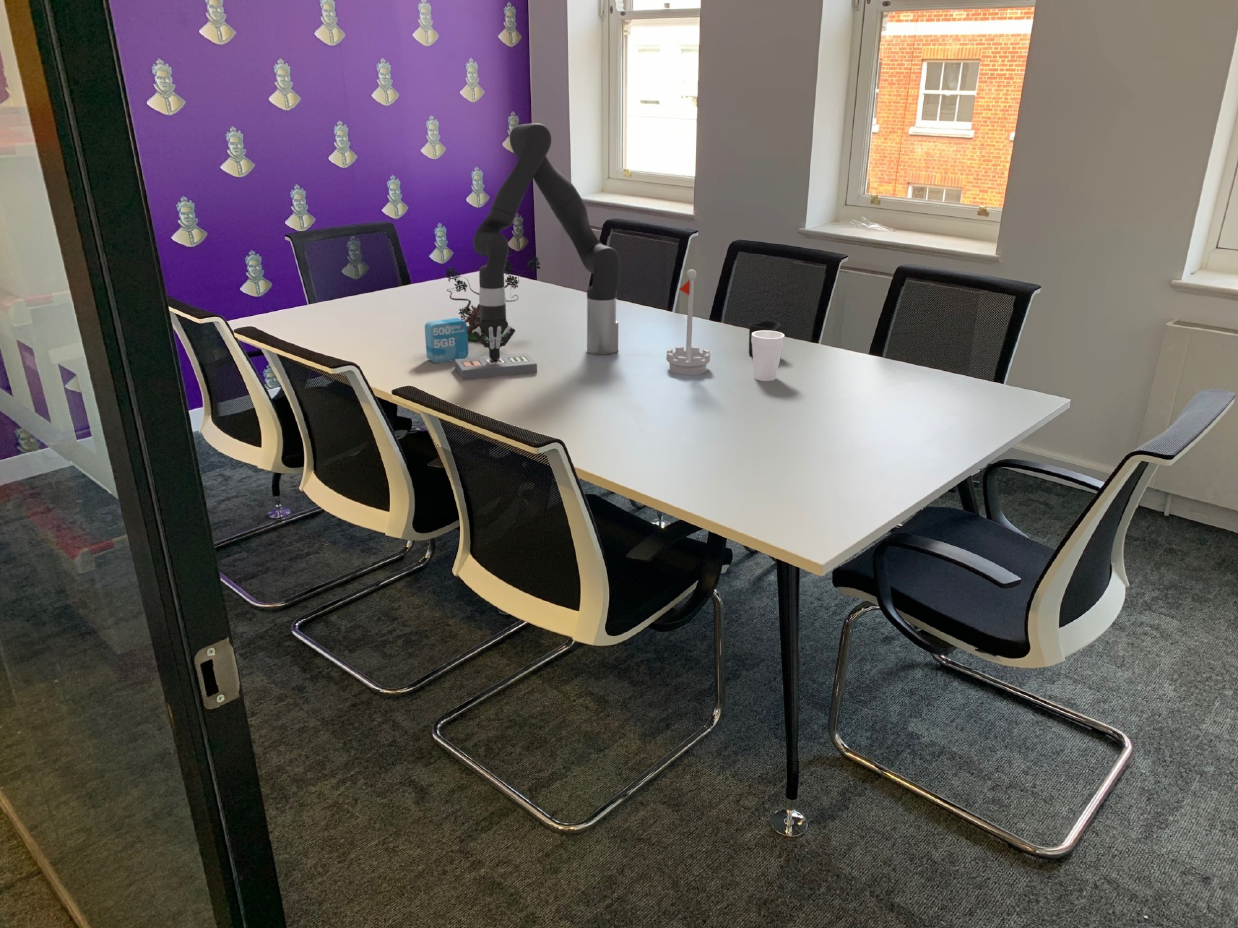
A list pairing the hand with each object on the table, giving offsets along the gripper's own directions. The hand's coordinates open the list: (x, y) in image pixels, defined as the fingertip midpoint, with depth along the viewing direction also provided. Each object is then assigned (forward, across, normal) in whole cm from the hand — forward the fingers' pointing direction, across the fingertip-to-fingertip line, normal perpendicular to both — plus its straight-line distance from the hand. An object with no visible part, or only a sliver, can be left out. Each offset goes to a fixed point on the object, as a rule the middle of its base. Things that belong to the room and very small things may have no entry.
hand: (494, 360), depth 279 cm
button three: (+3, 0, 0) cm, 3 cm away
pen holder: (+3, -84, +9) cm, 85 cm away
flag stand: (+3, -55, +16) cm, 58 cm away
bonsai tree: (+4, -10, -40) cm, 41 cm away
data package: (+4, +11, -17) cm, 20 cm away
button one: (+3, +7, 0) cm, 8 cm away
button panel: (+3, 0, 0) cm, 3 cm away
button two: (+3, -7, 0) cm, 8 cm away
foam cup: (+3, -73, +31) cm, 80 cm away
